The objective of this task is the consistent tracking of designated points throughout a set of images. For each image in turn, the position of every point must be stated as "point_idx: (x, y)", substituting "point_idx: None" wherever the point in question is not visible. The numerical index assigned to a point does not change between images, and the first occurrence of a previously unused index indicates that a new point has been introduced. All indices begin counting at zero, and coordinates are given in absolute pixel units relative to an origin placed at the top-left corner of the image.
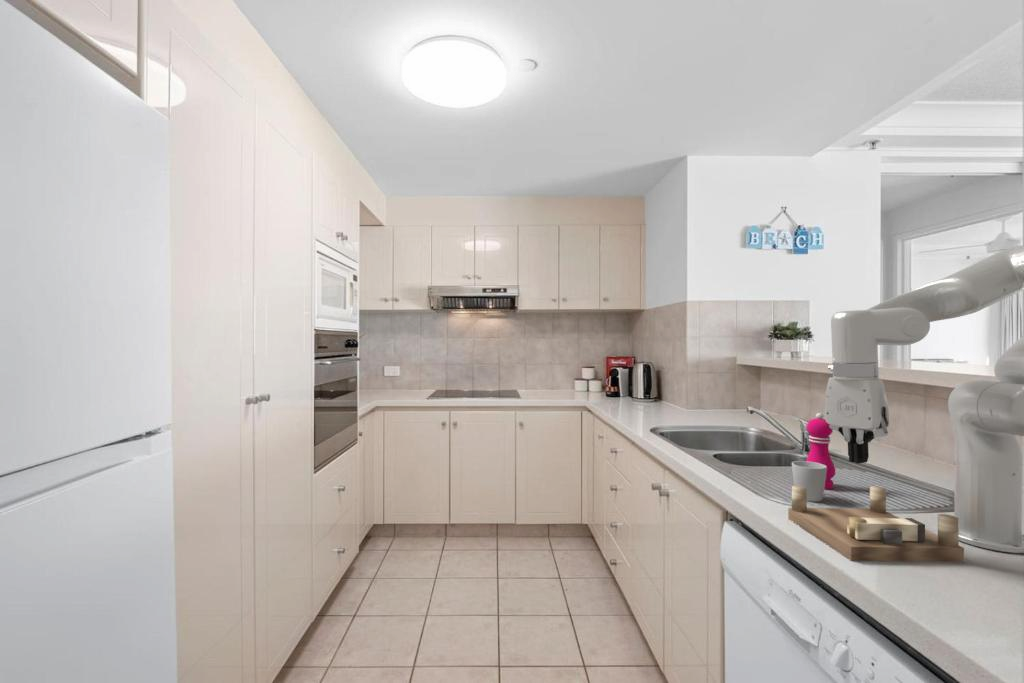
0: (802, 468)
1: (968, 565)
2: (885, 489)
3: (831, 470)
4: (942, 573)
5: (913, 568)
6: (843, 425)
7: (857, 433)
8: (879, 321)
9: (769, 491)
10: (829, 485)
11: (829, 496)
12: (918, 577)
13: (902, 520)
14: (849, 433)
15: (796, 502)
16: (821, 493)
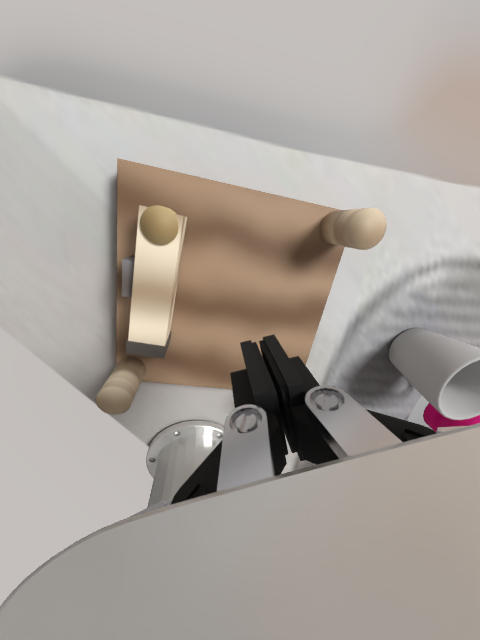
0: (468, 358)
1: (112, 361)
2: None
3: None
4: (79, 296)
5: (97, 265)
6: (388, 455)
7: (267, 463)
8: None
9: (471, 301)
10: (429, 417)
11: (399, 387)
12: (59, 239)
13: (154, 331)
14: (333, 439)
15: (341, 212)
16: (397, 363)
